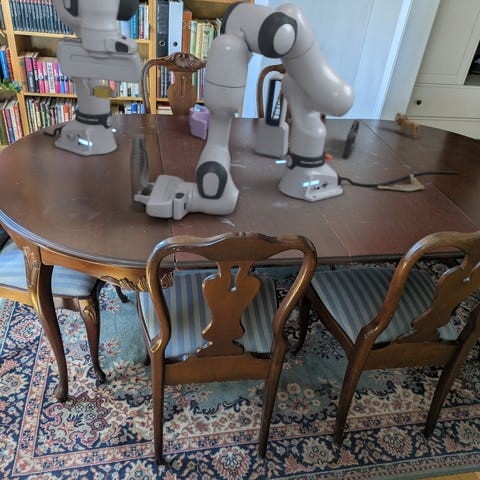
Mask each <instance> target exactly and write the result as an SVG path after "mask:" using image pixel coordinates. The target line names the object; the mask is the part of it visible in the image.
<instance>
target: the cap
mask: <svg viewBox="0 0 480 480" xmlns="http://www.w3.org/2000/svg"><path fill="white" fill-rule="evenodd" d="M93 88H94V96H95V97H97V98H110V99H111V94H110V91H112V90H113V88H112V87H111V86H109V85H106V86H104V85H99V86H94V87H93Z"/></svg>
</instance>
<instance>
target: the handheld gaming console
mask: <svg viewBox="0 0 480 480" xmlns="http://www.w3.org/2000/svg"><path fill="white" fill-rule="evenodd" d="M360 123H361V122H360V120H358V119H354V120H353V122H352V124H351V127H350V129H349V131H348V133H347V135H346V136H347V137H346V141H345V146H344V150H343V154H342V158H343V159H349V158H350V156H351V153H352V151H353V148H354V145H355V144H356V141H357V136H358V133H359V129H360Z"/></svg>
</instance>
